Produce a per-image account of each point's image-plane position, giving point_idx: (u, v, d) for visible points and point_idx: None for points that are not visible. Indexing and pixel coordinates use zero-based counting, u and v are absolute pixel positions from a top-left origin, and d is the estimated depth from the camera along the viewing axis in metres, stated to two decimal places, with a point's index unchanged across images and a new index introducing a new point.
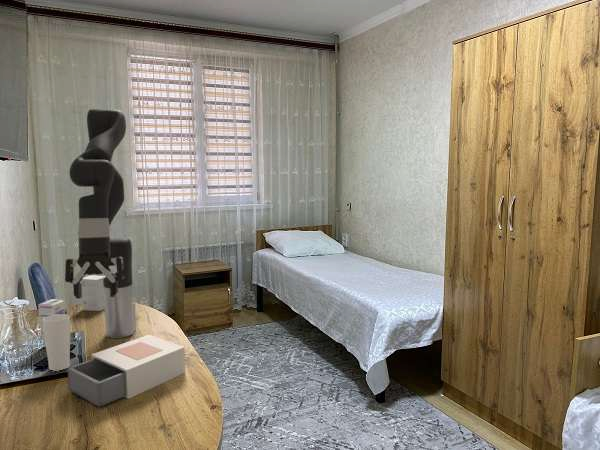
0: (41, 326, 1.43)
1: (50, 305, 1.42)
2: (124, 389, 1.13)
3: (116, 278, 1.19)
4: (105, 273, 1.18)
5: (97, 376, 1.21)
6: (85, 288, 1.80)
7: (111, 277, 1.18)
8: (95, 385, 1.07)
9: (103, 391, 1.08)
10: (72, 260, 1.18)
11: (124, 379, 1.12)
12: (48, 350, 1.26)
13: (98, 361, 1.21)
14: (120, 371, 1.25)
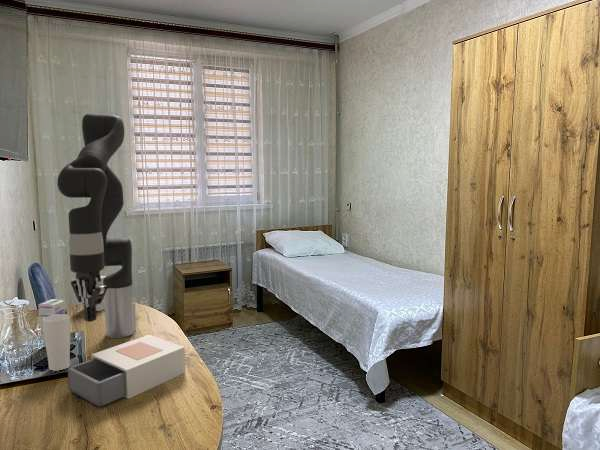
0: (41, 326, 1.43)
1: (50, 305, 1.42)
2: (124, 389, 1.13)
3: (90, 305, 1.10)
4: (84, 294, 1.09)
5: (97, 376, 1.21)
6: None
7: (87, 301, 1.09)
8: (95, 385, 1.07)
9: (103, 391, 1.08)
10: (75, 280, 1.13)
11: (124, 379, 1.12)
12: (48, 350, 1.26)
13: (98, 361, 1.21)
14: (120, 371, 1.25)
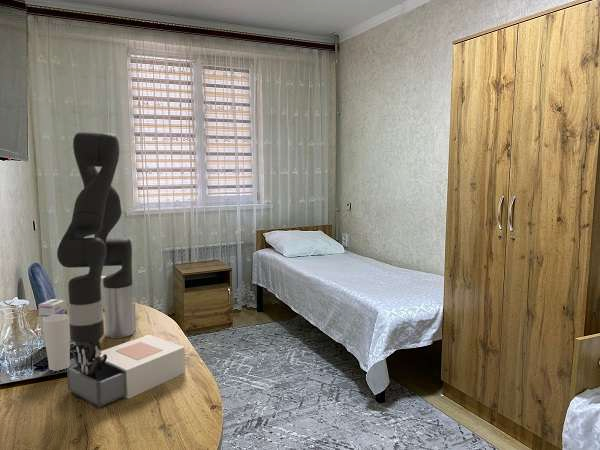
0: (41, 326, 1.43)
1: (50, 305, 1.42)
2: (124, 389, 1.13)
3: (90, 373, 1.10)
4: (84, 362, 1.10)
5: (97, 376, 1.21)
6: None
7: (86, 369, 1.10)
8: (95, 385, 1.07)
9: (103, 391, 1.08)
10: (75, 345, 1.14)
11: (124, 379, 1.12)
12: (48, 350, 1.26)
13: None
14: (120, 371, 1.25)
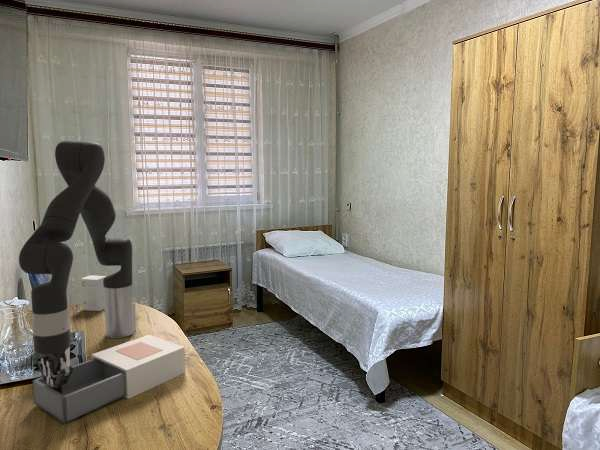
0: None
1: None
2: (92, 403, 1.06)
3: None
4: (48, 375, 1.03)
5: (66, 388, 1.14)
6: (85, 288, 1.80)
7: (52, 382, 1.04)
8: (60, 400, 1.01)
9: (68, 406, 1.01)
10: (41, 357, 1.07)
11: (92, 392, 1.06)
12: None
13: None
14: (91, 383, 1.18)
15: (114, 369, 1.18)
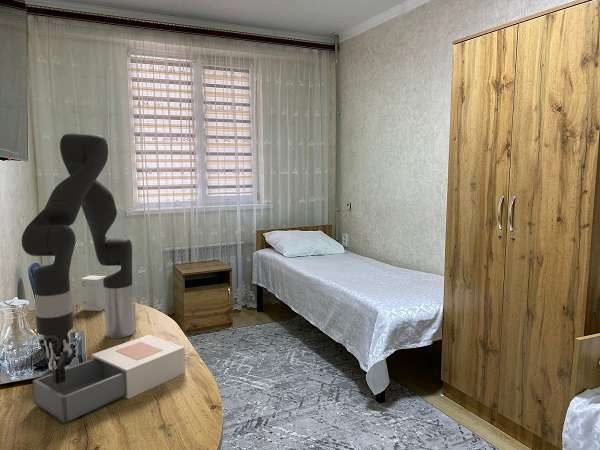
0: None
1: None
2: (92, 403, 1.06)
3: None
4: (51, 357, 1.04)
5: (66, 388, 1.14)
6: (85, 288, 1.80)
7: (54, 363, 1.04)
8: (60, 400, 1.01)
9: (68, 406, 1.01)
10: (44, 339, 1.08)
11: (92, 392, 1.06)
12: None
13: (67, 372, 1.14)
14: (91, 383, 1.18)
15: (114, 369, 1.18)
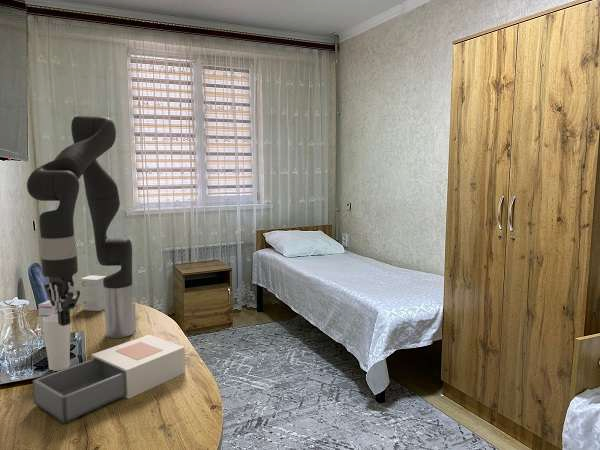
0: (41, 326, 1.43)
1: (50, 305, 1.42)
2: (92, 403, 1.06)
3: (63, 310, 1.08)
4: (57, 299, 1.07)
5: (66, 388, 1.14)
6: (85, 288, 1.80)
7: (60, 306, 1.08)
8: (60, 400, 1.01)
9: (68, 406, 1.01)
10: (49, 283, 1.11)
11: (92, 392, 1.06)
12: (48, 350, 1.26)
13: (67, 372, 1.14)
14: (91, 383, 1.18)
15: (114, 369, 1.18)
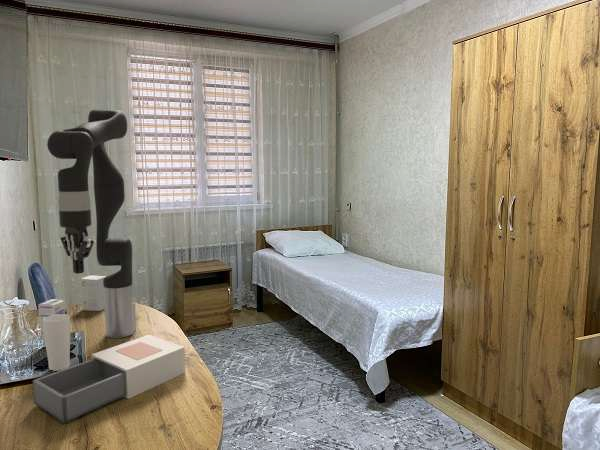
0: (41, 326, 1.43)
1: (50, 305, 1.42)
2: (92, 403, 1.06)
3: (78, 258, 1.19)
4: (72, 248, 1.19)
5: (66, 388, 1.14)
6: (85, 288, 1.80)
7: (75, 254, 1.19)
8: (60, 400, 1.01)
9: (68, 406, 1.01)
10: (65, 236, 1.23)
11: (92, 392, 1.06)
12: (48, 350, 1.26)
13: (67, 372, 1.14)
14: (91, 383, 1.18)
15: (114, 369, 1.18)
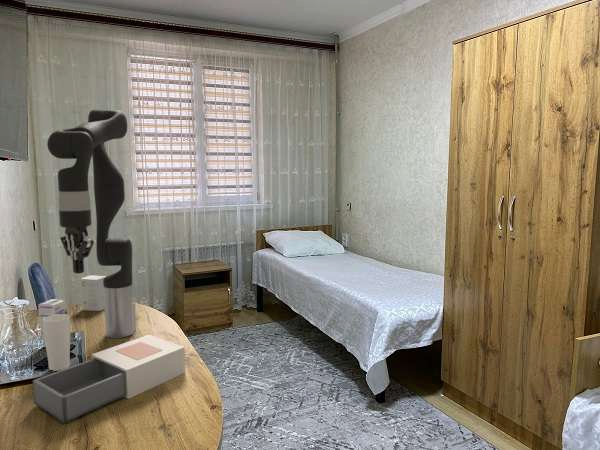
0: (41, 326, 1.43)
1: (50, 305, 1.42)
2: (92, 403, 1.06)
3: (78, 258, 1.19)
4: (72, 248, 1.19)
5: (66, 388, 1.14)
6: (85, 288, 1.80)
7: (75, 254, 1.19)
8: (60, 400, 1.01)
9: (68, 406, 1.01)
10: (65, 236, 1.23)
11: (92, 392, 1.06)
12: (48, 350, 1.26)
13: (67, 372, 1.14)
14: (91, 383, 1.18)
15: (114, 369, 1.18)
